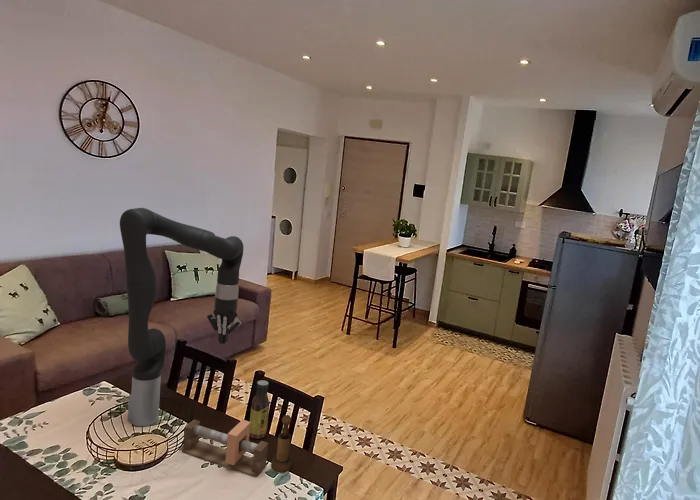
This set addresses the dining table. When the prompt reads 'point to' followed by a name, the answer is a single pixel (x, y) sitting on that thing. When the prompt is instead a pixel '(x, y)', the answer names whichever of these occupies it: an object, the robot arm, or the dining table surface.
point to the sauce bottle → (259, 411)
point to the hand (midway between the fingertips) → (222, 343)
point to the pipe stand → (219, 454)
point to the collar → (237, 441)
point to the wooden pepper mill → (283, 449)
